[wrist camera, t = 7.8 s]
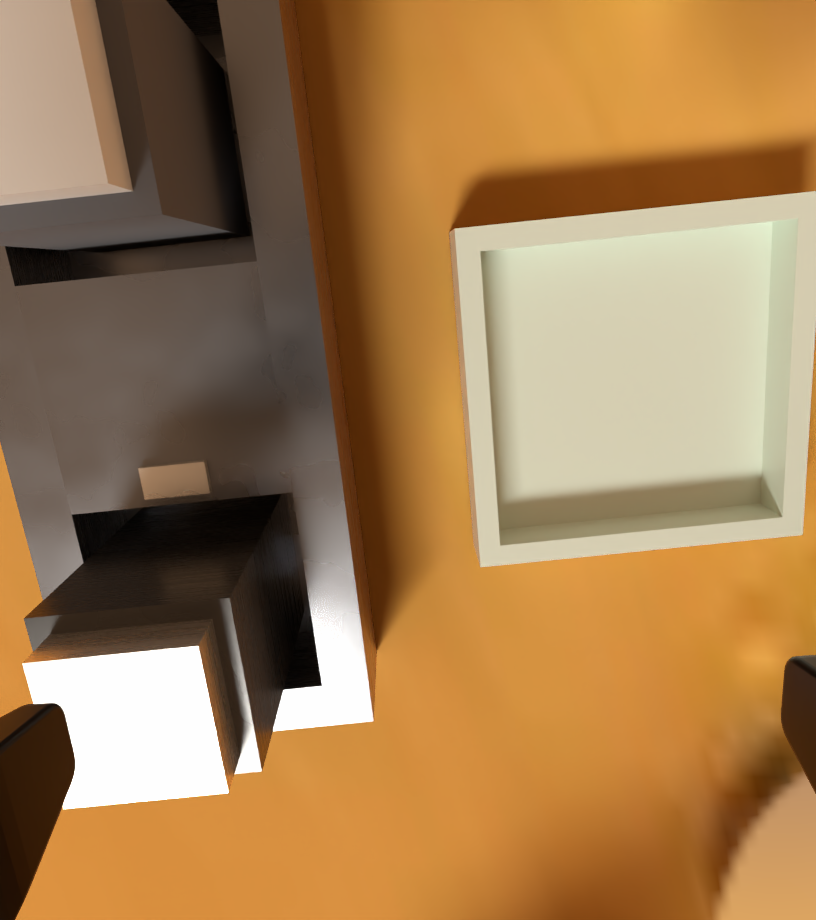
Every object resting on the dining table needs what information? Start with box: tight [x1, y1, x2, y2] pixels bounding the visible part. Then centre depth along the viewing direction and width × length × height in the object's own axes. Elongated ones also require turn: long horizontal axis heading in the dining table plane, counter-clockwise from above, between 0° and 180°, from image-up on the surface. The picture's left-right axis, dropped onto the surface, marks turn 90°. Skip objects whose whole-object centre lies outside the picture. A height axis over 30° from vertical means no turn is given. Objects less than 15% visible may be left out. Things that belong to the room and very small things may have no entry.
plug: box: [0, 0, 249, 253], centre depth 14 cm, size 4×4×8 cm
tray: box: [449, 191, 816, 567], centre depth 19 cm, size 9×9×2 cm
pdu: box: [0, 0, 377, 809], centre depth 15 cm, size 8×20×8 cm, turn 6°
